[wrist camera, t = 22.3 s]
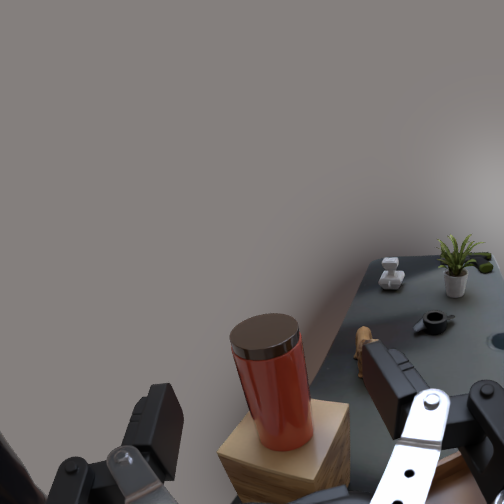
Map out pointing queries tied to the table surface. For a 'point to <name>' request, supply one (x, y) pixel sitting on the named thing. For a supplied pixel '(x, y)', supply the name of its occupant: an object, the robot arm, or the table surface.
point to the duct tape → (433, 322)
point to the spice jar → (274, 379)
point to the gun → (477, 260)
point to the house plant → (456, 268)
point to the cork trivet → (295, 461)
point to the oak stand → (289, 489)
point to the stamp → (391, 274)
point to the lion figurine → (362, 338)
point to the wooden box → (454, 483)
